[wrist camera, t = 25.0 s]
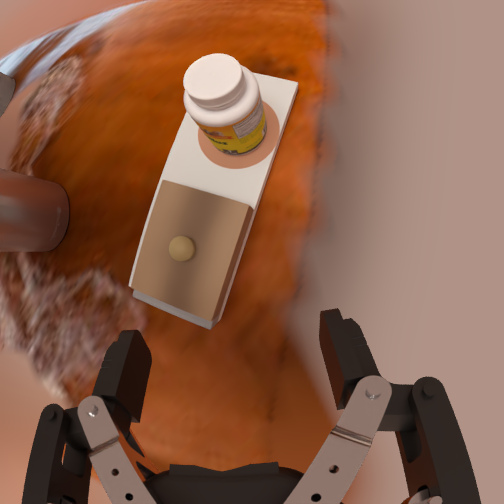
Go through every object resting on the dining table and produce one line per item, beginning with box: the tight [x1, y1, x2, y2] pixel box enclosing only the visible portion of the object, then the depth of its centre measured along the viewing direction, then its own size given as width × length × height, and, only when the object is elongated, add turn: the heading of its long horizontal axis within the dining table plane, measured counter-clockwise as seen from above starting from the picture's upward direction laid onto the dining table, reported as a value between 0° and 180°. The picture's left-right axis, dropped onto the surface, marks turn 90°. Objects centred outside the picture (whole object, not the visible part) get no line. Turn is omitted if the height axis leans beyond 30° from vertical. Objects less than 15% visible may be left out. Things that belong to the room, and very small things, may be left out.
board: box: [129, 73, 298, 330], centre depth 26 cm, size 10×25×4 cm, turn 161°
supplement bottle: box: [183, 54, 267, 156], centre depth 21 cm, size 6×6×10 cm
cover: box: [131, 180, 254, 321], centre depth 25 cm, size 8×10×4 cm
